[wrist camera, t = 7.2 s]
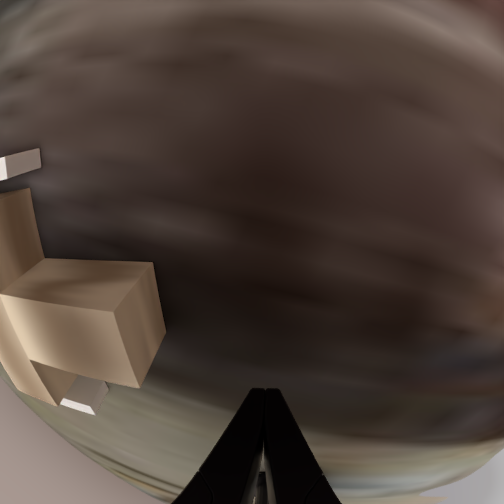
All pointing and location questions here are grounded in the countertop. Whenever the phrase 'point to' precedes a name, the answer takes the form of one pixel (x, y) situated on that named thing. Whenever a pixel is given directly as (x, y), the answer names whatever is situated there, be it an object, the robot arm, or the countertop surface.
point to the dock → (83, 388)
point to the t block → (71, 312)
